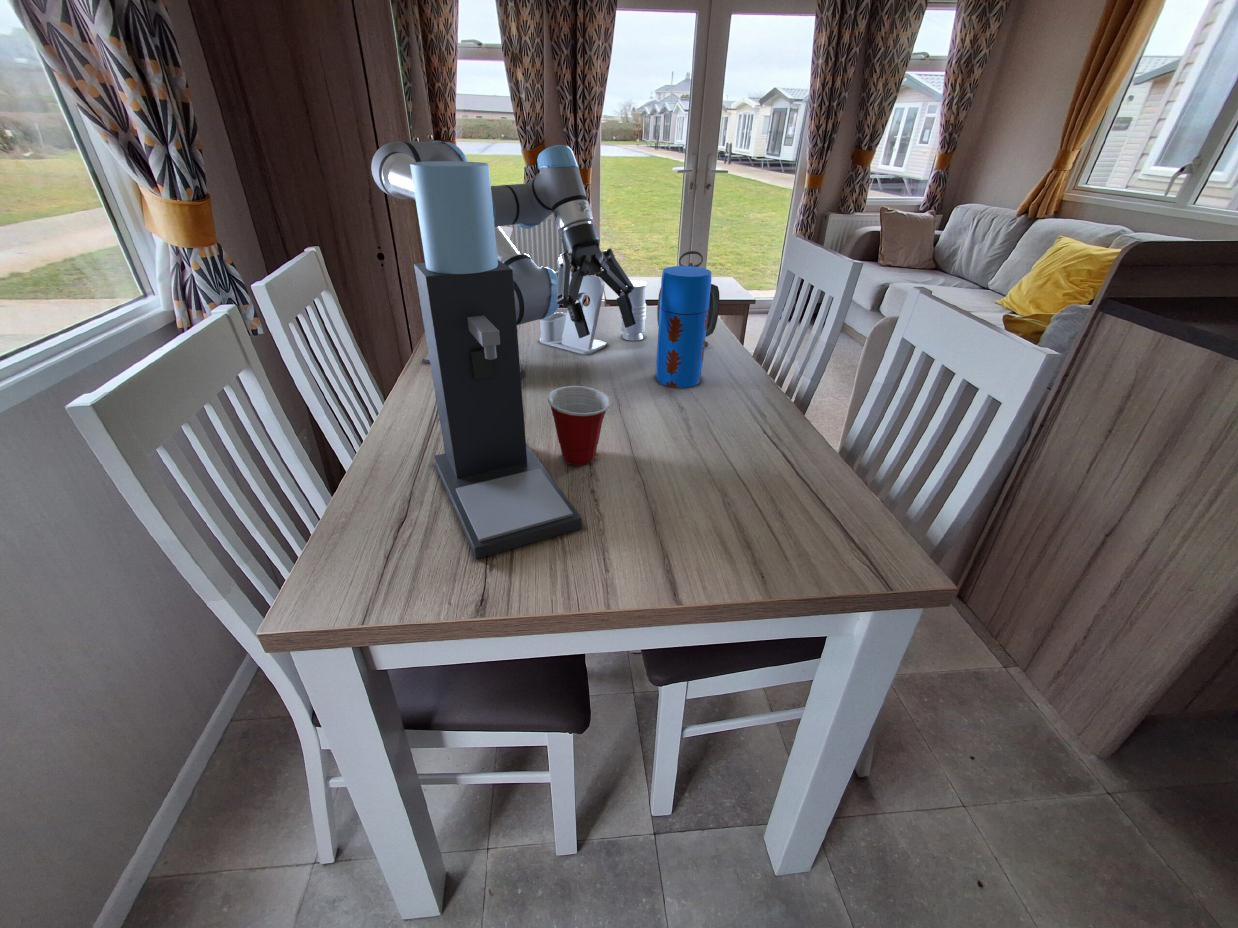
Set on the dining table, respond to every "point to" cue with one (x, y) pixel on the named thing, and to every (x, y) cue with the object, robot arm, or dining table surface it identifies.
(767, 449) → the dining table surface
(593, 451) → the plastic cup
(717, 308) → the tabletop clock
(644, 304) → the silver ribbed cylinder
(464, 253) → the water dispenser
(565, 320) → the phone holder
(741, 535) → the dining table surface
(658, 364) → the thermos
